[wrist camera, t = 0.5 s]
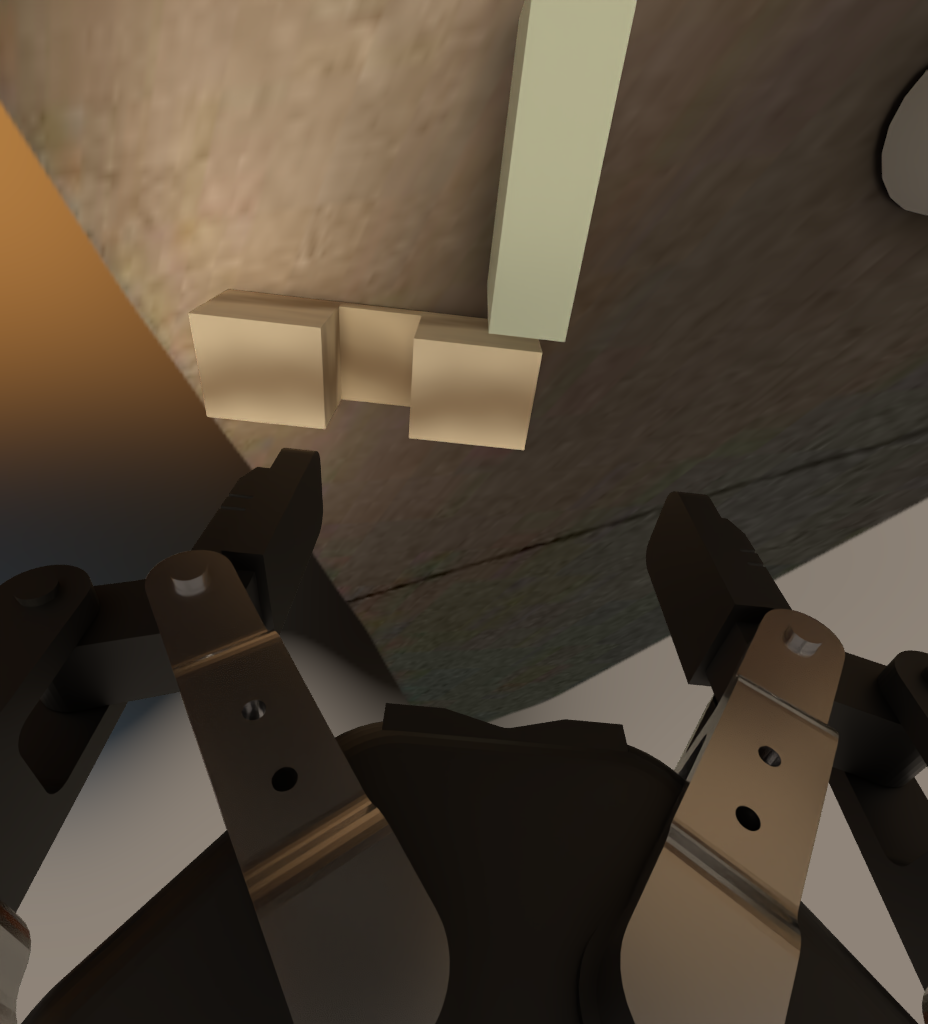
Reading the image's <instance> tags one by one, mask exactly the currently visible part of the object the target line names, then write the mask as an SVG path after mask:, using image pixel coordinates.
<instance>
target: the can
mask: <svg viewBox="0 0 928 1024" xmlns="http://www.w3.org/2000/svg"><path fill="white" fill-rule="evenodd" d="M882 179H883V181H884V184H885V186H886V189H887V191H888V193H889V196H890V198H891V199H893V200H894V201H895V202H896V203H897V204H898V205H900V206H901V207H902V208H903V209H904V210H907V211H911V212H915V213H919V214H923V215H928V70H927V71H926V72H925V73H924V74H923V75H922V77H921V78H920V79H919V80H918V82H917V83H916V84H915V85H914V86H913V88H912V89H911V90H910V91H909V92H908V94H907V95H906V96H905V97H904V99H903V101H902V103H901V105H900V107H899V109H898V111H897V112H896V114H895V116H894V118H893V120H892V122H891V124H890V126H889V129H888V133H887V136H886V140H885V144H884V147H883V151H882Z"/></svg>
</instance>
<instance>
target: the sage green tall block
mask: <svg viewBox="0 0 928 1024" xmlns="http://www.w3.org/2000/svg"><path fill="white" fill-rule="evenodd" d="M636 2H637V0H525V1H524V5H523V8H522V11H521V14H520V17H519V23H518V31H517V40H516V48H515V56H514V64H513V73H512V81H511V89H510V98H509V106H508V114H507V122H506V131H505V139H504V147H503V156H502V164H501V172H500V180H499V189H498V197H497V205H496V214H495V222H494V230H493V238H492V247H491V255H490V263H489V272H488V280H487V300H488V331H489V334H498V335H507V336H516V337H525V338H534V339H542V340H551V341H560V342H565V339H566V334H567V330H568V325H569V320H570V315H571V311H572V306H573V301H574V296H575V292H576V287H577V282H578V278H579V273H580V268H581V263H582V259H583V254H584V249H585V244H586V240H587V235H588V230H589V225H590V221H591V216H592V211H593V206H594V202H595V197H596V192H597V187H598V183H599V178H600V173H601V168H602V164H603V159H604V154H605V149H606V145H607V140H608V135H609V130H610V126H611V121H612V116H613V111H614V107H615V102H616V97H617V92H618V88H619V83H620V78H621V73H622V69H623V64H624V59H625V55H626V50H627V45H628V40H629V36H630V31H631V26H632V21H633V17H634V12H635V7H636Z"/></svg>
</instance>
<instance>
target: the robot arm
mask: <svg viewBox="0 0 928 1024" xmlns="http://www.w3.org/2000/svg"><path fill="white" fill-rule="evenodd" d="M322 517H323V500H322V483H321V465H320V456H319V453H318V452H317V451H310V450H301V449H292V448H283V449H282V450H281V451H280V453H279V455H278V456H277V458H276V460H275V461H274V463H273V465H272V466H271V468H262V467H256V468H255V469H253V470H252V471H250V472H249V473H247V474H246V475H244V476H243V477H241V478H240V479H239V480H238V481H237V483H236V484H235V486H234V487H233V489H232V490H231V492H230V493H229V497H227V498H226V499H225V501H224V502H223V503H222V505H221V509H219V510H218V511H217V513H216V514H215V516H214V517H213V518H212V520H211V521H210V523H209V524H208V526H207V527H206V529H205V530H204V532H203V533H202V535H201V536H200V538H199V539H198V541H197V542H196V544H195V545H194V547H193V548H192V550H191V551H187V552H182V553H178V554H176V555H173V556H171V557H169V558H166V559H165V560H163V561H161V562H160V563H159V564H157V565H156V566H155V567H154V568H153V569H152V570H151V571H150V573H149V574H148V575H147V577H146V579H143V580H138V581H131V582H122V583H114V584H106V585H98V586H93V585H92V582H91V580H90V577H89V576H88V574H87V573H86V572H85V571H84V570H82V569H80V568H78V567H74V566H70V565H49V566H44V567H39V568H35V569H31V570H29V571H26V572H23V573H21V574H18V575H16V576H14V577H13V578H11V579H9V580H7V581H6V582H4V583H3V584H2V585H0V1024H17V1018H16V1000H17V995H18V991H19V986H20V984H21V981H22V978H23V975H24V972H25V970H26V967H27V964H28V960H29V956H30V951H31V939H30V932H29V930H28V927H27V925H26V923H25V922H24V921H23V920H22V918H20V917H19V916H18V915H17V914H16V911H17V909H18V908H19V906H20V904H21V902H22V900H23V898H24V896H25V894H26V892H27V891H28V889H29V887H30V885H31V883H32V881H33V879H34V877H35V876H36V874H37V871H38V870H39V868H40V866H41V864H42V862H43V860H44V859H45V857H46V855H47V853H48V851H49V849H50V847H51V845H52V844H53V842H54V840H55V838H56V836H57V834H58V832H59V830H60V828H61V827H62V825H63V823H64V821H65V819H66V817H67V815H68V813H69V812H70V810H71V808H72V806H73V804H74V802H75V800H76V798H77V797H78V794H79V793H80V791H81V789H82V787H83V785H84V783H85V781H86V780H87V778H88V776H89V774H90V772H91V770H92V768H93V766H94V765H95V763H96V761H97V759H98V757H99V755H100V753H101V751H102V749H103V748H104V746H105V744H106V742H107V740H108V738H109V736H110V734H111V733H112V731H113V729H114V727H115V725H116V723H117V721H118V719H119V717H120V716H121V714H122V712H123V710H124V708H125V706H126V704H127V702H128V701H133V700H139V699H143V698H149V697H155V696H160V695H165V694H170V693H176V692H180V694H181V697H182V700H183V703H184V706H185V709H186V712H187V715H188V718H189V721H190V724H191V726H192V729H193V732H194V735H195V738H196V741H197V744H198V747H199V750H200V753H201V755H202V759H203V762H204V764H205V767H206V770H207V773H208V776H209V779H210V782H211V785H212V788H213V791H214V794H215V797H216V800H217V803H218V805H219V809H220V812H221V814H222V817H223V820H224V823H225V826H226V829H227V830H226V831H225V832H224V833H223V834H222V835H221V836H220V837H219V838H218V839H217V840H215V841H214V842H213V843H212V844H211V845H210V846H209V847H208V848H207V849H205V850H204V851H203V852H202V853H201V854H200V855H199V856H198V857H197V858H196V859H195V860H193V861H192V862H191V863H190V864H189V865H188V866H187V867H186V868H185V869H183V870H182V871H181V872H180V873H179V874H178V875H177V876H176V877H175V878H173V879H172V880H171V881H170V882H169V883H168V884H167V885H166V886H165V887H164V888H162V889H161V890H160V891H159V892H158V893H157V894H156V895H155V896H154V897H152V898H151V899H150V900H149V901H148V902H147V903H146V904H145V905H144V906H143V907H141V908H140V910H138V911H137V912H136V913H135V914H134V915H133V916H131V917H130V918H129V919H128V920H127V921H126V922H125V923H124V924H123V925H122V926H120V927H119V928H118V929H117V930H116V931H115V932H114V933H113V934H112V935H111V936H109V937H108V938H107V939H106V940H105V941H104V942H103V943H102V944H101V945H99V946H98V947H97V949H95V950H94V951H93V952H92V953H91V954H89V955H88V956H87V957H86V958H85V959H84V960H83V961H82V962H81V963H80V964H78V965H77V966H76V967H75V968H74V969H73V970H72V971H71V972H70V973H68V975H66V976H65V977H64V978H63V979H62V980H61V981H60V982H59V983H58V984H56V985H55V986H54V987H53V988H52V989H51V990H50V991H49V992H48V993H47V994H46V995H45V997H44V998H42V1000H41V1001H40V1002H39V1003H38V1004H37V1005H36V1006H35V1008H34V1009H33V1010H32V1011H31V1012H30V1013H29V1015H28V1016H27V1017H26V1018H25V1020H24V1021H23V1022H22V1023H21V1024H918V1023H917V1022H916V1021H915V1020H914V1019H913V1018H912V1017H911V1016H910V1014H909V1013H907V1011H906V1010H905V1009H904V1008H903V1007H902V1006H901V1005H900V1004H899V1003H898V1002H897V1001H896V1000H895V999H894V998H893V997H892V996H891V995H890V994H889V993H888V991H886V989H885V988H884V987H882V985H881V984H880V983H879V982H878V981H877V980H876V979H875V978H874V977H873V976H872V975H871V974H870V973H869V972H868V971H867V970H866V968H865V967H864V966H863V965H862V964H861V963H860V962H859V961H858V960H857V959H856V958H855V957H854V956H853V955H852V954H851V953H850V952H849V951H848V950H847V949H846V947H844V945H843V944H842V943H841V942H840V941H839V940H838V939H837V938H836V937H835V936H834V935H833V934H832V933H831V932H830V931H829V930H828V929H827V928H826V927H825V926H824V925H823V923H822V922H821V921H820V920H819V919H818V918H817V917H816V916H815V915H814V914H813V913H812V912H811V911H810V910H809V909H808V908H807V907H806V906H805V905H804V904H803V902H802V901H801V897H802V893H803V889H804V884H805V880H806V876H807V872H808V867H809V863H810V859H811V855H812V850H813V846H814V842H815V838H816V834H817V829H818V825H819V821H820V817H821V812H822V808H823V804H824V800H825V795H826V791H827V787H828V783H829V784H830V786H831V788H832V790H833V792H834V795H835V797H836V799H837V801H838V803H839V805H840V807H841V810H842V812H843V814H844V816H845V819H846V821H847V823H848V825H849V827H850V829H851V832H852V834H853V836H854V838H855V840H856V842H857V844H858V847H859V849H860V851H861V853H862V856H863V858H864V860H865V862H866V864H867V866H868V869H869V871H870V873H871V875H872V877H873V880H874V882H875V884H876V886H877V888H878V890H879V893H880V895H881V897H882V899H883V901H884V903H885V905H886V908H887V910H888V912H889V914H890V917H891V919H892V921H893V923H894V925H895V927H896V929H897V932H898V934H899V936H900V938H901V940H902V943H903V945H904V947H905V949H906V951H907V953H908V956H909V958H910V960H911V962H912V964H913V967H914V969H915V971H916V973H917V975H918V977H919V979H920V982H921V984H922V986H923V988H924V990H925V993H924V995H923V1001H922V1012H923V1018H924V1023H925V1024H928V800H927V798H926V796H925V795H924V793H923V791H922V789H921V788H920V786H919V784H918V783H917V781H916V779H915V776H916V775H917V774H918V773H919V772H921V771H922V770H923V769H924V768H925V767H928V653H924V652H920V651H904V652H901V653H899V654H898V655H897V656H896V657H895V658H894V659H893V660H892V661H891V662H890V663H889V664H888V666H885V665H882V664H879V663H876V662H873V661H870V660H867V659H864V658H861V657H858V656H855V655H852V654H849V653H846V652H845V651H844V648H843V645H842V644H841V642H840V640H839V639H838V638H837V637H836V635H835V634H834V633H833V632H832V631H831V630H830V629H829V628H827V627H826V626H825V625H824V624H822V623H820V622H819V621H818V620H816V619H814V618H812V617H810V616H808V615H806V614H803V613H801V612H798V611H794V610H792V609H791V607H790V606H789V604H788V603H787V601H786V599H785V598H784V596H783V595H782V593H781V591H780V590H779V588H778V586H777V585H776V583H775V582H774V580H773V578H772V577H771V575H770V574H769V572H768V570H767V569H766V567H763V562H762V561H761V559H760V558H759V556H758V554H757V553H755V549H754V548H753V546H752V545H751V543H750V541H749V540H748V538H747V537H746V535H745V534H744V533H743V532H742V531H741V530H740V529H739V528H737V527H736V526H735V525H734V524H733V523H732V522H730V521H729V520H728V519H725V518H721V516H720V515H719V513H718V511H717V509H716V508H715V506H714V504H713V503H712V501H711V499H710V498H709V497H708V496H707V495H703V494H694V493H684V492H675V491H674V492H671V493H670V494H669V495H668V497H667V499H666V501H665V503H664V506H663V508H662V511H661V513H660V516H659V518H658V520H657V523H656V525H655V528H654V530H653V533H652V535H651V538H650V540H649V543H648V546H647V551H646V566H647V570H648V573H649V576H650V578H651V581H652V584H653V587H654V590H655V592H656V595H657V598H658V601H659V603H660V606H661V609H662V612H663V615H664V617H665V620H666V623H667V626H668V629H669V631H670V634H671V637H672V640H673V643H674V645H675V648H676V651H677V654H678V656H679V659H680V662H681V665H682V667H683V670H684V673H685V676H686V679H687V682H688V684H693V685H704V686H711V687H712V690H713V692H714V695H713V697H712V698H711V700H710V702H709V703H708V704H707V706H706V708H705V710H704V712H703V714H702V716H701V718H700V720H699V722H698V724H697V726H696V728H695V730H694V732H693V734H692V736H691V738H690V740H689V742H688V744H687V746H686V748H685V750H684V752H683V754H682V756H681V758H680V760H679V762H678V764H677V766H676V768H675V770H672V769H671V768H670V767H668V766H667V765H665V764H664V763H662V762H661V761H660V760H658V759H656V758H654V757H653V756H651V755H649V754H647V753H646V752H643V751H641V750H639V749H637V748H635V747H632V746H629V745H627V743H626V738H625V734H624V730H623V725H620V724H610V723H599V722H588V721H577V720H558V721H552V722H546V723H540V724H534V725H527V726H521V727H514V728H503V727H499V726H496V725H492V724H490V723H487V722H484V721H481V720H478V719H475V718H472V717H469V716H466V715H463V714H460V713H457V712H454V711H451V710H448V709H445V708H434V707H424V706H413V705H402V704H401V705H400V704H390V703H386V707H385V713H384V719H383V722H377V723H372V724H368V725H364V726H361V727H357V728H355V729H353V730H350V731H348V732H345V733H343V734H341V735H339V736H337V737H334V735H333V734H332V732H331V730H330V728H329V726H328V725H327V722H326V721H325V719H324V717H323V715H322V713H321V711H320V710H319V708H318V706H317V704H316V702H315V700H314V698H313V697H312V695H311V693H310V691H309V689H308V687H307V685H306V684H305V682H304V680H303V678H302V676H301V675H300V673H299V671H298V669H297V667H296V665H295V663H294V661H293V660H292V658H291V656H290V654H289V652H288V650H287V649H286V647H285V645H284V644H283V641H282V639H281V638H280V636H279V635H280V633H281V630H282V628H283V625H284V622H285V620H286V617H287V614H288V612H289V610H290V607H291V605H292V602H293V599H294V597H295V594H296V592H297V589H298V587H299V584H300V582H301V579H302V577H303V574H304V572H305V569H306V566H307V564H308V561H309V559H310V556H311V554H312V551H313V549H314V546H315V543H316V541H317V538H318V536H319V533H320V529H321V524H322Z"/></svg>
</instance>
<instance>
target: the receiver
mask: <svg viewBox="0 0 928 1024" xmlns="http://www.w3.org/2000/svg"><path fill="white" fill-rule="evenodd" d="M188 315H189V321H190V326H191V331H192V337H193V342H194V348H195V353H196V359H197V364H198V370H199V375H200V381H201V386H202V392H203V397H204V402H205V408H206V413H207V417H215V418H224V419H234V420H243V421H253V422H262V423H271V424H281V425H290V426H300V427H309V428H319V429H326V427H327V425H328V424H329V422H330V420H331V418H332V416H333V414H334V412H335V411H336V409H337V407H338V405H339V403H340V401H341V399H344V400H353V401H362V402H371V403H381V404H390V405H399V406H409V407H410V425H409V438H413V439H423V440H432V441H442V442H451V443H461V444H470V445H480V446H489V447H499V448H508V449H517V450H524V448H525V442H526V437H527V432H528V427H529V421H530V416H531V411H532V405H533V400H534V395H535V390H536V384H537V379H538V374H539V368H540V363H541V358H542V350H541V346H540V342H539V339H534V338H525V337H516V336H507V335H498V334H489V331H488V319H485V318H476V317H467V316H459V315H450V314H441V313H432V312H424V311H415V310H406V309H397V308H389V307H380V306H371V305H362V304H354V303H345V302H336V301H327V300H319V299H310V298H301V297H292V296H284V295H275V294H266V293H257V292H249V291H240V290H231V289H228V290H226V291H224V292H223V293H221V294H219V295H218V296H216V297H214V298H213V299H211V300H209V301H207V302H206V303H204V304H202V305H201V306H199V307H197V308H196V309H194V310H192V311H191V312H189V313H188Z"/></svg>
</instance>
